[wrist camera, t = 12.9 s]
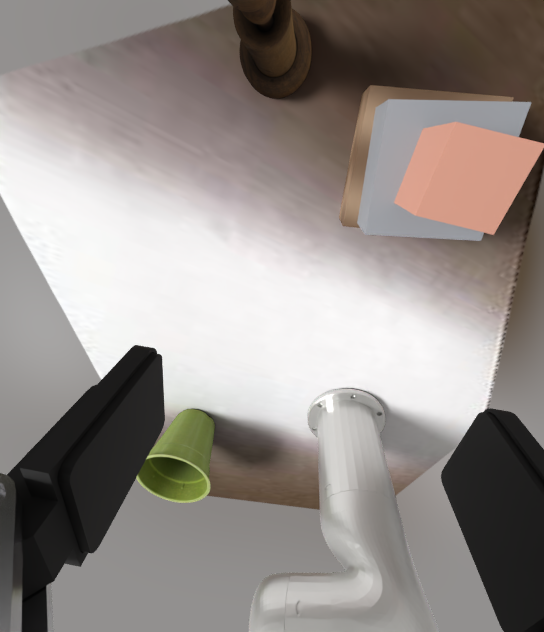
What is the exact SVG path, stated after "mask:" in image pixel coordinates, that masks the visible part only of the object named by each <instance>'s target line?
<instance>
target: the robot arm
mask: <svg viewBox="0 0 544 632" xmlns="http://www.w3.org/2000/svg"><path fill="white" fill-rule="evenodd" d="M164 421H165V413H164V391H163V369H162V356H161V355H160V354H157V351H156V349H154V348H150V347H144V346H138V345H135V346H133V347H132V348H131V349H130V350H129V351H128V352H127V353H126V354H125V355H124V357H123V358H122V359H121V360H120V361H119V362H118V363H117V364H116V365H115V366H114V367H113V368H112V369H111V370H110V372H109V373H108V374H107V375H106V376H105V377H104V378H103V379H102V380H101V381H100V382H99V383H98V385H95V386H92V387H91V388H90V389H89V390H88V391H86V393H85V394H84V395H83V396H82V397H81V398H80V399H79V400H78V401H77V402H76V403H75V404H74V405H73V406H72V407H71V408H70V409H69V410H68V411H67V412H66V414H65V415H64V416H63V417H62V418H61V419H60V420H59V421H58V422H57V423H56V424H55V425H54V426H53V427H52V428H51V429H50V431H48V433H47V434H46V435H45V436H44V437H43V438H42V439H41V440H40V441H39V442H38V443H37V444H36V445H35V446H34V447H33V448H32V449H31V450H30V451H29V452H28V453H27V454H26V456H25V457H24V458H23V459H22V460H21V461H20V462H19V463H18V464H17V465H16V466H15V467H14V468H13V469H12V470H11V471H10V472H9V473H8V474H7V475H5V474H2V473H0V632H53V611H52V590H51V589H52V587H51V582H53V581H54V580H55V578H56V577H57V575H58V573H59V572H60V570H61V568H62V567H63V565H64V563H65V564H70V565H75V566H81V565H82V563H83V561H84V559H85V557H86V556H87V554H88V553H94V552H95V551H96V550H97V548H98V547H99V545H100V544H101V542H102V540H103V538H104V536H105V534H106V532H107V531H108V529H109V527H110V525H111V523H112V521H113V519H114V517H115V516H116V514H117V512H118V510H119V508H120V506H121V505H122V503H123V501H124V499H125V497H126V495H127V494H128V492H129V490H130V488H131V486H132V484H133V482H134V481H135V479H136V477H137V475H138V473H139V471H140V470H141V468H142V466H143V464H144V462H145V460H146V459H147V457H148V455H149V453H150V451H151V449H152V447H153V446H154V444H155V442H156V440H157V438H158V436H159V434H160V433H161V431H162V428H163V425H164ZM385 422H386V418H385V413H384V409H383V407H382V405H381V404H380V402H379V401H378V400H377V399H376V398H374V397H373V396H372V395H370V394H368V393H366V392H363V391H360V390H355V389H337V390H333V391H329V392H327V393H325V394H322V395H321V396H319V397H318V398H317V399H316V400H315V401H314V402H313V403H312V404H311V406H310V408H309V411H308V425H309V428H310V430H311V431H312V433H313V434H314V435H315V436H316V437H317V438H318V467H319V498H320V522H321V528H322V533H323V536H324V538H325V541H326V543H327V545H328V547H329V548H330V550H331V551H332V553H333V554H334V556H335V557H336V559H337V560H338V561H339V563H340V564H341V565H342V566H343V568H344V569H345V570H346V571H344V572H333V573H277V574H272V575H269V576H268V577H266V578H264V579H263V580H262V581H261V583H260V584H259V586H258V587H257V589H256V592H255V594H254V598H253V602H252V606H251V613H250V621H249V632H439V629H438V626H437V624H436V621H435V619H434V616H433V614H432V611H431V609H430V606H429V603H428V601H427V599H426V596H425V593H424V591H423V588H422V585H421V583H420V580H419V577H418V575H417V572H416V569H415V566H414V563H413V560H412V556H411V553H410V550H409V546H408V543H407V539H406V535H405V532H404V528H403V524H402V520H401V517H400V513H399V509H398V504H397V501H396V497H395V493H394V489H393V485H392V481H391V477H390V473H389V469H388V465H387V461H386V457H385V453H384V449H383V445H382V441H381V437H380V433H381V432H382V430H383V428H384V426H385ZM441 479H442V483H443V486H444V489H445V491H446V494H447V496H448V499H449V501H450V503H451V506H452V508H453V511H454V513H455V516H456V518H457V520H458V523H459V526H460V528H461V530H462V533H463V535H464V537H465V540H466V543H467V545H468V547H469V550H470V552H471V555H472V557H473V560H474V562H475V565H476V567H477V570H478V572H479V574H480V577H481V579H482V582H483V584H484V587H485V589H486V592H487V594H488V597H489V599H490V601H491V604H492V606H493V609H494V611H495V614H496V616H497V619H498V621H499V624H500V626H501V628H502V630H503V631H504V632H544V449H543V448H542V447H541V446H540V445H539V443H538V442H537V441H536V439H535V438H534V437H533V436H532V435H531V433H530V432H529V431H528V430H527V428H526V427H525V426H524V424H523V423H522V422H521V421H520V420H519V418H518V417H517V416H516V415H515V414H514V413H511V412H508V411H502V410H496V409H486V410H485V411H484V412H481V413H479V414H478V415H477V417H476V418H475V420H474V421H473V423H472V425H471V426H470V428H469V429H468V431H467V432H466V434H465V436H464V437H463V439H462V440H461V442H460V443H459V445H458V447H457V448H456V450H455V451H454V453H453V454H452V456H451V458H450V459H449V461H448V462H447V464H446V465H445V467H444V469H443V471H442V474H441Z"/></svg>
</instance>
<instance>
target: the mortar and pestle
mask: <svg viewBox="0 0 544 632" xmlns="http://www.w3.org/2000/svg"><path fill="white" fill-rule="evenodd" d="M228 1H229V2H230V3H231V4H232V5H233V17H234V24H235V28H236V30H237V33H238V35H239V37H240V39H241V42H240V61H241V65H242V68H243V71H244V74H245V76H246V77H247V79H248V81H249V82H250V83H251V85H252V86H253V87H254V88H255V89H256V90H257V91H258V92H259V93H260V94H262V95H264V96H266V97H269V98H283V97H286V96H288V95H290V94H292V93H293V92H294V91H296V90H297V89H298V88H299V87H300V85H301V84H302V83H303V81H304V80H305V78H306V76H307V73H308V71H309V68H310V63H311V55H312V50H311V39H310V34H309V31H308V28H307V26H306V24H305V22H304V20H303V19H302V17H301V16H300V15H299V14H298V13H297V12H296V11H295V10H293V9H292V8H291V0H228Z"/></svg>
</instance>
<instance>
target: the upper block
mask: <svg viewBox="0 0 544 632" xmlns="http://www.w3.org/2000/svg"><path fill="white" fill-rule="evenodd" d="M530 105H531V102H500V101H451V100H402V99H388V100H387V101H385V102H384V103H382V104H381V105H379V106H378V107H376V109H375V115H374V121H373V128H372V134H371V140H370V146H369V152H368V159H367V165H366V171H365V177H364V184H363V190H362V196H361V202H360V208H359V215H358V221H357V224H358V225H359V227H360V228H361V229H362V231H363V232H364V234H365V235H383V236H401V237H420V238H438V239H456V240H475V241H481V240H482V237H483V234H484V232H480V231H476V230H472V229H468V228H464V227H460V226H455V225H451V224H447V223H443V222H439V221H435V220H431V219H427V218H423V217H419V216H415V215H414V214H412V213H410V212H409V211H407V210H405V209H404V208H402V207H400V206H399V205H397V204H395V203H394V201H395V198H396V196H397V193H398V191H399V188H400V186H401V183H402V181H403V178H404V175H405V173H406V170H407V168H408V165H409V163H410V160H411V158H412V155H413V153H414V150H415V147H416V145H417V142H418V140H419V137H420V135H421V132H422V130H423V128H428V127H433V126H438V125H443V124H448V123H452V122H459V123H463V124H467V125H471V126H476V127H480V128H484V129H488V130H492V131H496V132H500V133H504V134H508V135H512V136H516V137H519V135H520V132H521V129H522V127H523V124H524V121H525V118H526V116H527V113H528V110H529V107H530Z"/></svg>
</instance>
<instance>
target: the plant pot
mask: <svg viewBox="0 0 544 632" xmlns="http://www.w3.org/2000/svg"><path fill="white" fill-rule="evenodd" d="M214 430H215V424H214V421H213V419H212V418H210V417H208V416H207V415H206V413H204V412H202V411H199V410H195V409H187V410H184V411H183V412H181V413H179V414H178V415H177V417H176V418H175V419H174V421H173V422H172V423H171V425H170V426H169V428H168V429H167V430H166V432H165V433H164V434H163V436H162V437H161V438H160V440H159V441H158V442H157V444H156V445H155V446H154V447H153V448H152V449H151V451H150V453H149V455H148V457H147V459H146V460H145V462H144V464H143V466H142V468H141V470H140V471H139V473H138V475H137V477H136V478H137V480H138V481H139V483H140V484H141V485H142V486H143V487H144V488H145V489H146V490H148V491H149V492H151V493H152V494H154V495H156V496H158V497H160V498H163V499H166V500H169V501H173V502H180V503H188V502H196V501H199V500H201V499H203V498H204V497H206V496H207V494H208V493H209V491H210V487H211V485H210V480H209V472H210V468H209V464H210V457H211V451H212V444H213V437H214Z"/></svg>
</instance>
